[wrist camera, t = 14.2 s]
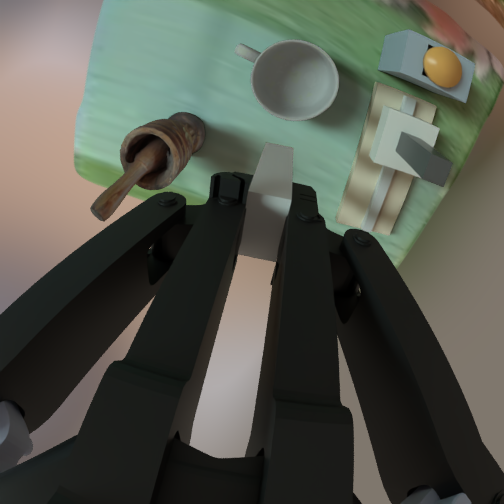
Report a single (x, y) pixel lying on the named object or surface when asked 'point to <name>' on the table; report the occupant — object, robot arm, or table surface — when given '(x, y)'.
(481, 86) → the table surface
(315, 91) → the teacup
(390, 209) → the rail board
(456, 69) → the button
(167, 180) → the mortar and pestle
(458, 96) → the blue-grey button box
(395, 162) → the carriage
